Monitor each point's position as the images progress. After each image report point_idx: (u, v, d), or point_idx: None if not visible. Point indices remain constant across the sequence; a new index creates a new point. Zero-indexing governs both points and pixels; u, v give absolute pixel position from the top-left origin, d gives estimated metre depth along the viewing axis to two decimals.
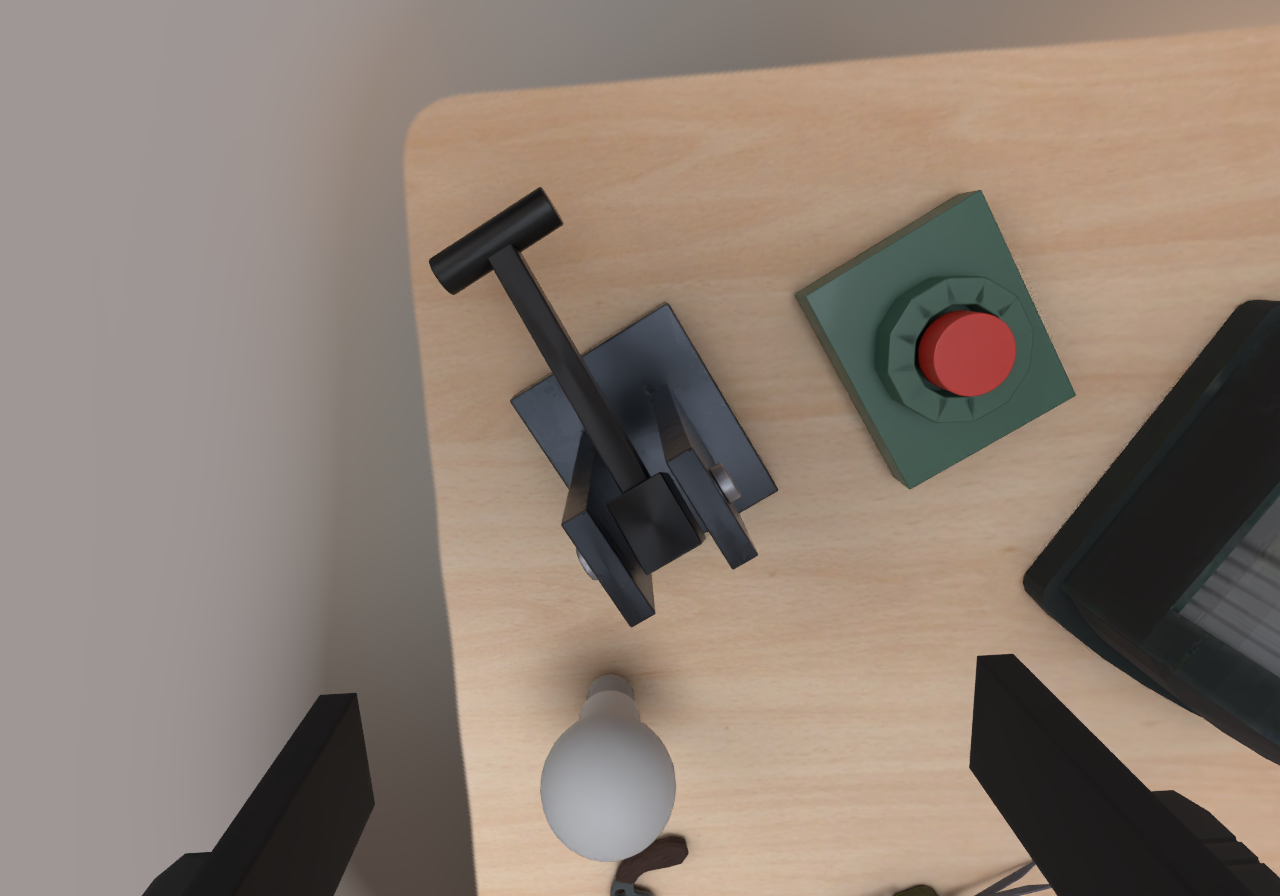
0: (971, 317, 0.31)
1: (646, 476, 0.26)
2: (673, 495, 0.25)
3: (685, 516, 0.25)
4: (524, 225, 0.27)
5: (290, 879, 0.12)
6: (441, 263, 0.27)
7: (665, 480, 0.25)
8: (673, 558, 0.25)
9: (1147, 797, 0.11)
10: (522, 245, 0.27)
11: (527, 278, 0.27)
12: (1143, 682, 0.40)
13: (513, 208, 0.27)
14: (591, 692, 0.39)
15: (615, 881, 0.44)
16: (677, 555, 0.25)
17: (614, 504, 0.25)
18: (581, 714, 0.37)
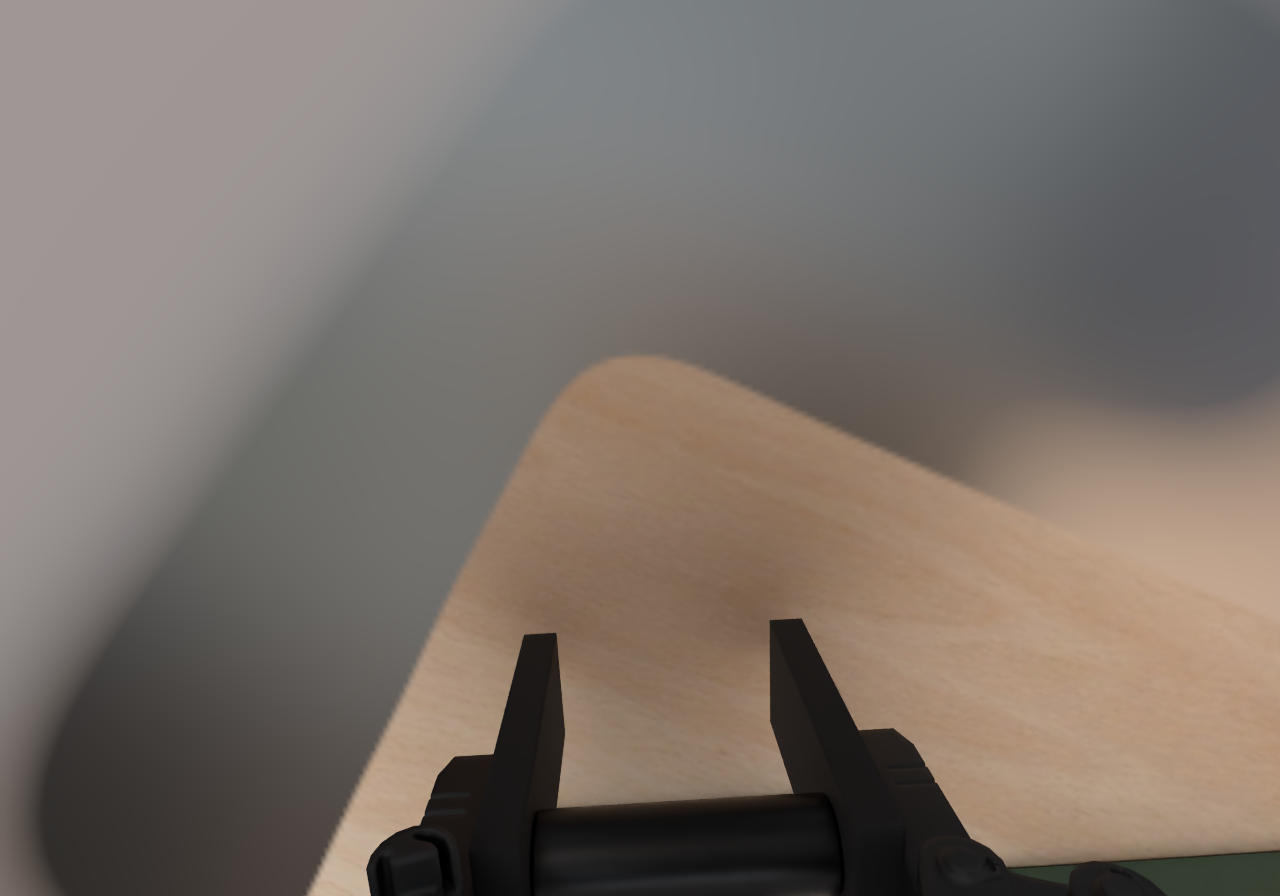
0: None
1: None
2: None
3: None
4: (767, 891, 0.12)
5: (545, 778, 0.14)
6: (556, 877, 0.12)
7: None
8: None
9: (850, 730, 0.13)
10: None
11: None
12: None
13: (763, 840, 0.12)
14: None
15: None
16: None
17: None
18: None
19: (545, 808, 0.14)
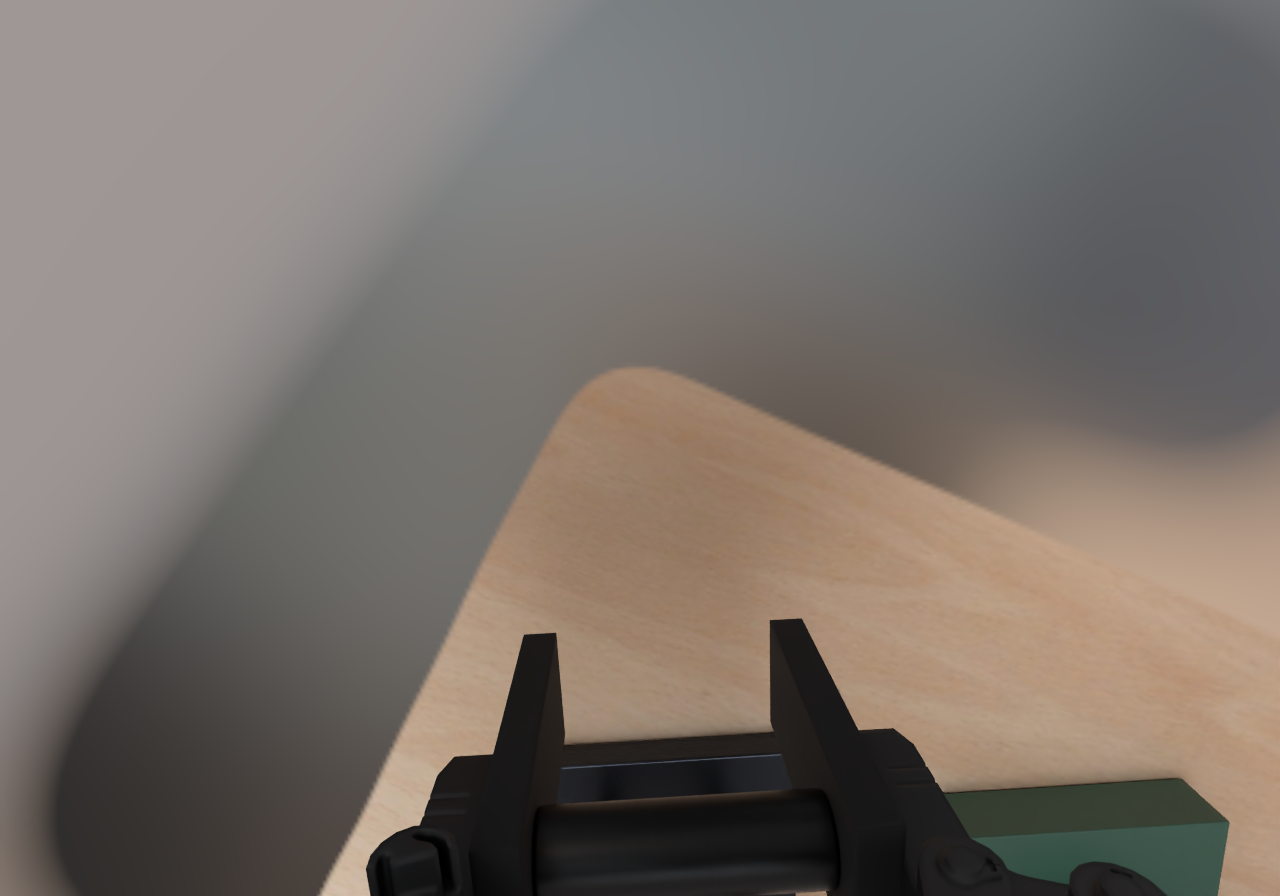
0: None
1: None
2: None
3: None
4: (765, 892, 0.12)
5: (544, 778, 0.14)
6: (558, 889, 0.12)
7: None
8: None
9: (851, 730, 0.13)
10: None
11: None
12: None
13: (763, 854, 0.12)
14: None
15: None
16: None
17: None
18: None
19: None
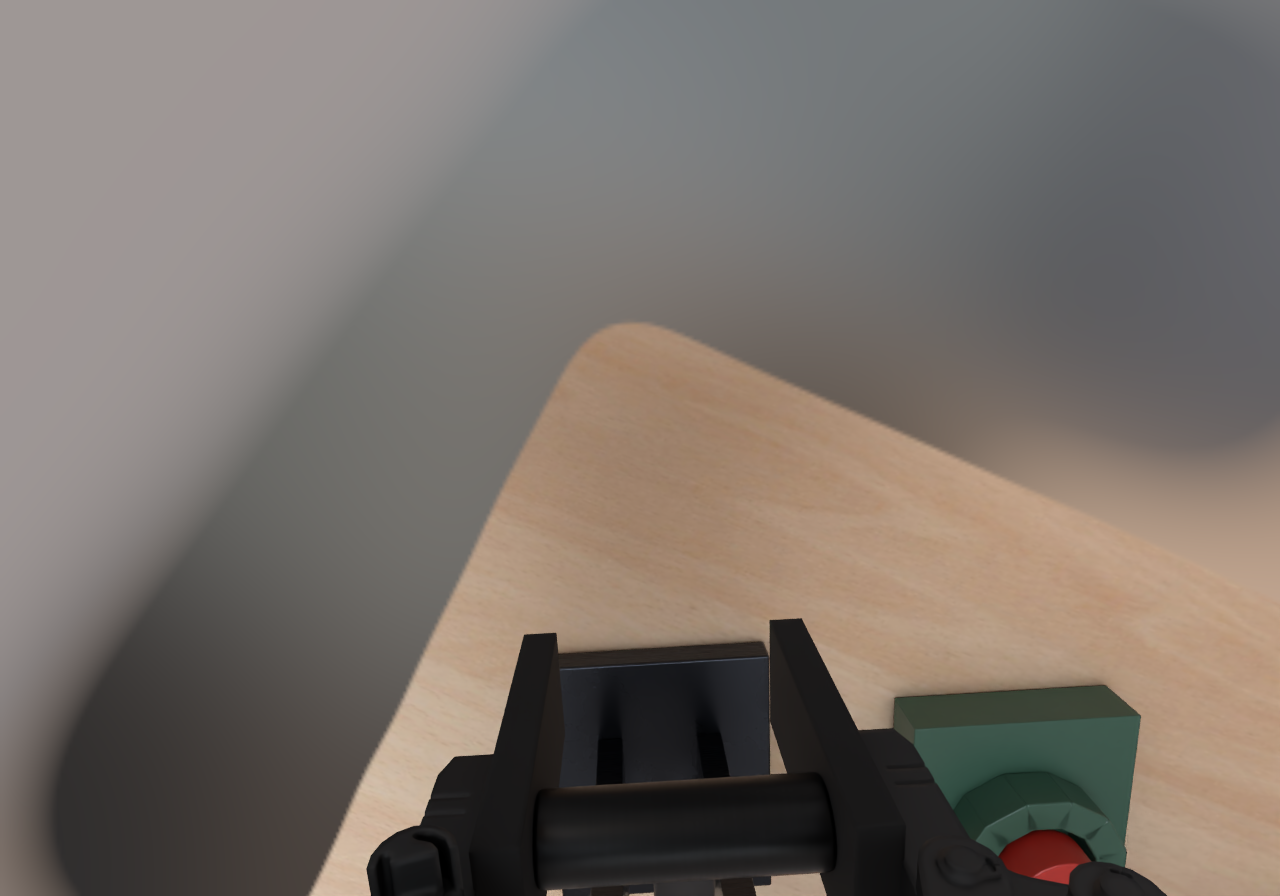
0: None
1: None
2: None
3: None
4: (760, 876, 0.12)
5: (545, 778, 0.14)
6: (560, 882, 0.12)
7: None
8: None
9: (850, 729, 0.13)
10: None
11: None
12: None
13: (762, 854, 0.12)
14: None
15: None
16: None
17: None
18: None
19: None
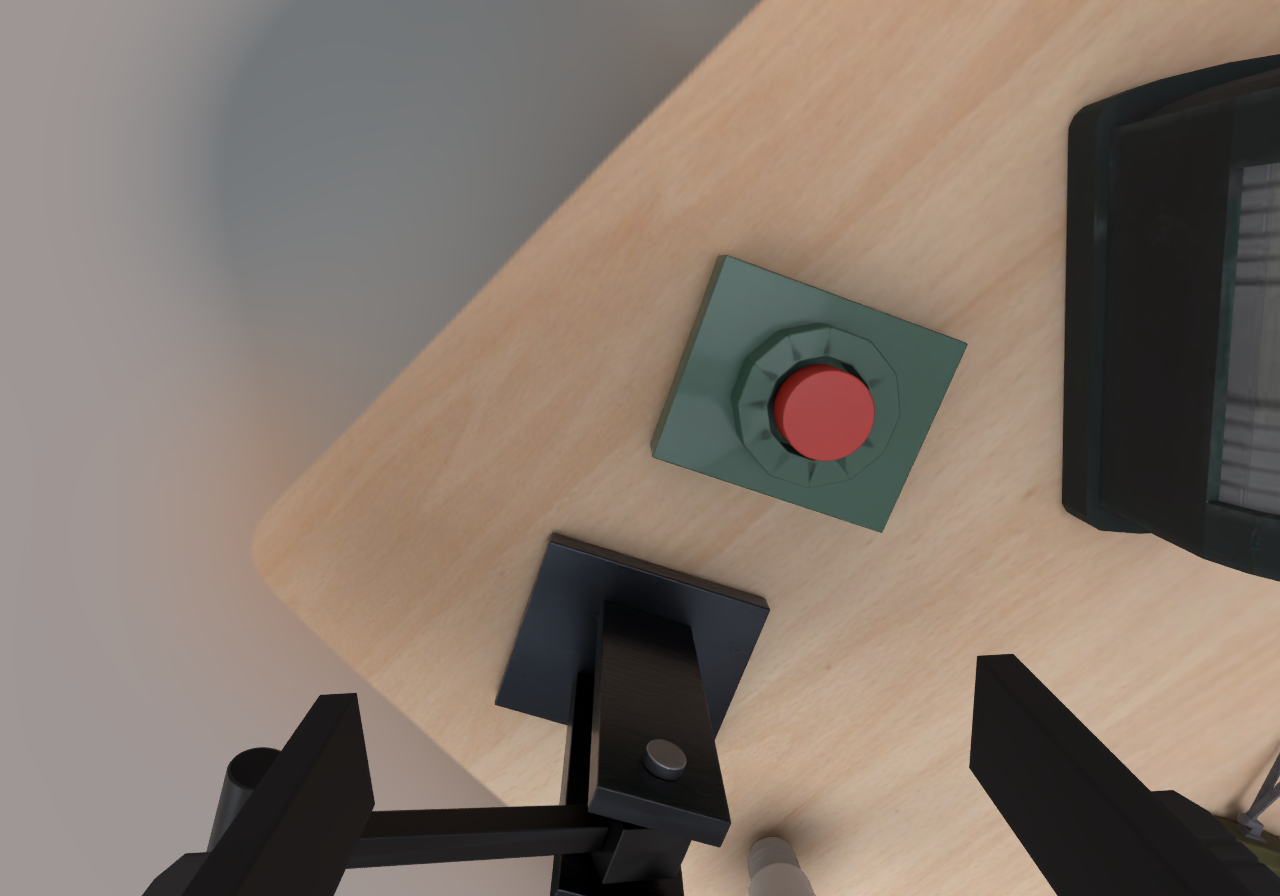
0: (797, 389, 0.28)
1: (605, 826, 0.24)
2: (648, 828, 0.23)
3: None
4: None
5: (290, 879, 0.12)
6: None
7: (632, 827, 0.23)
8: (685, 852, 0.24)
9: (1147, 797, 0.11)
10: None
11: None
12: None
13: None
14: (750, 874, 0.38)
15: None
16: (686, 847, 0.24)
17: (609, 877, 0.23)
18: None
19: None
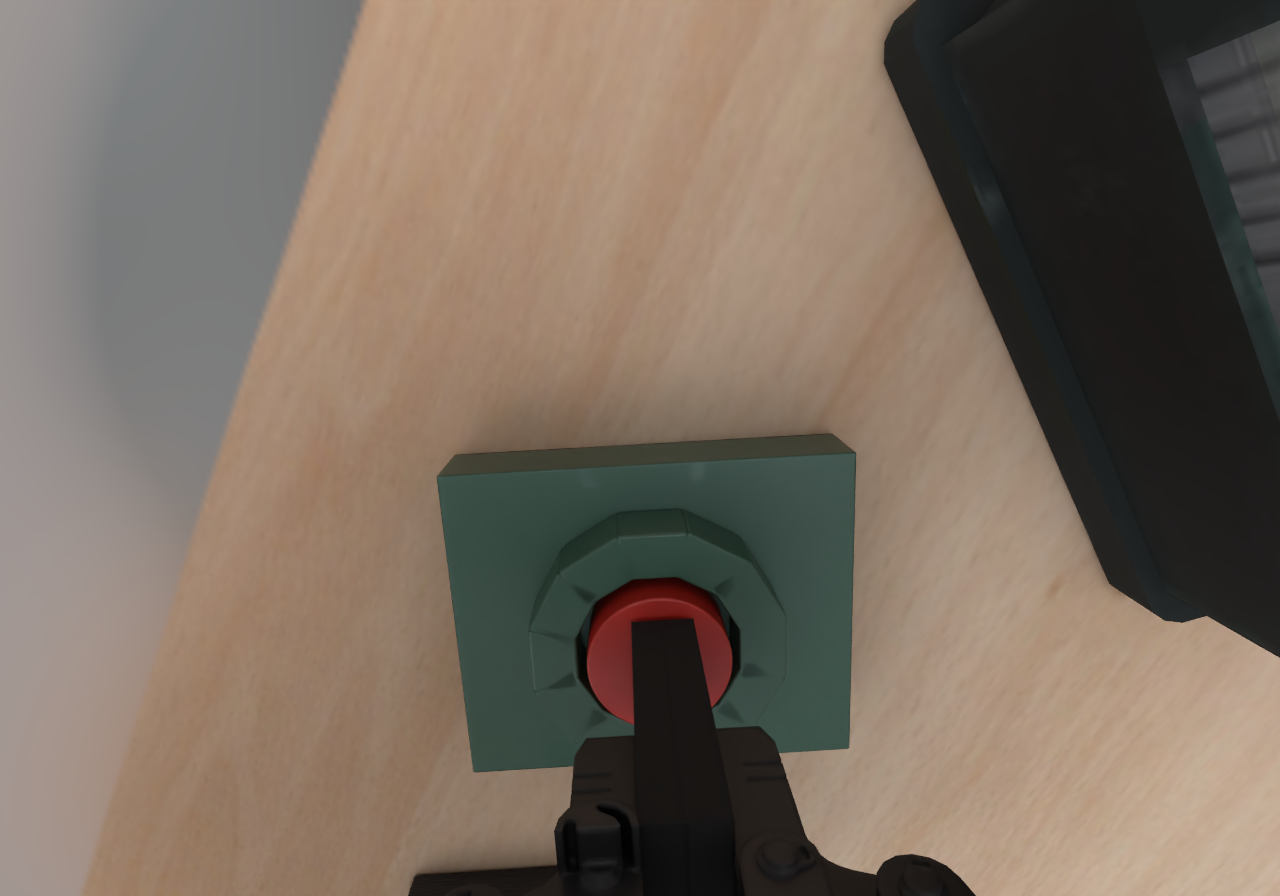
0: (596, 647, 0.18)
1: None
2: None
3: None
4: None
5: None
6: None
7: None
8: None
9: (708, 727, 0.13)
10: None
11: None
12: None
13: None
14: None
15: None
16: None
17: None
18: None
19: None
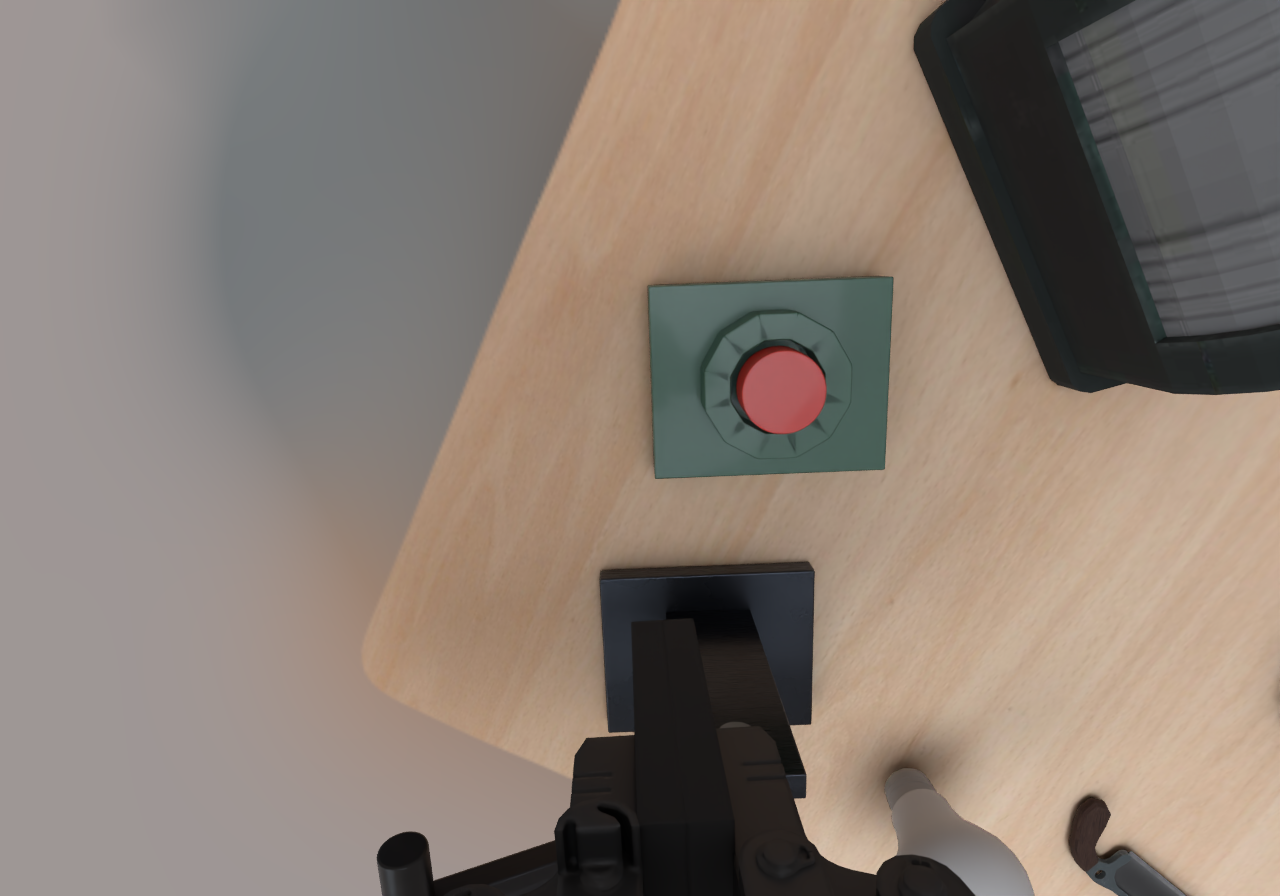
0: (747, 381, 0.31)
1: None
2: None
3: None
4: (421, 893, 0.23)
5: None
6: None
7: None
8: None
9: (708, 727, 0.13)
10: (433, 889, 0.24)
11: None
12: None
13: None
14: (891, 808, 0.40)
15: (1085, 871, 0.43)
16: None
17: None
18: None
19: None
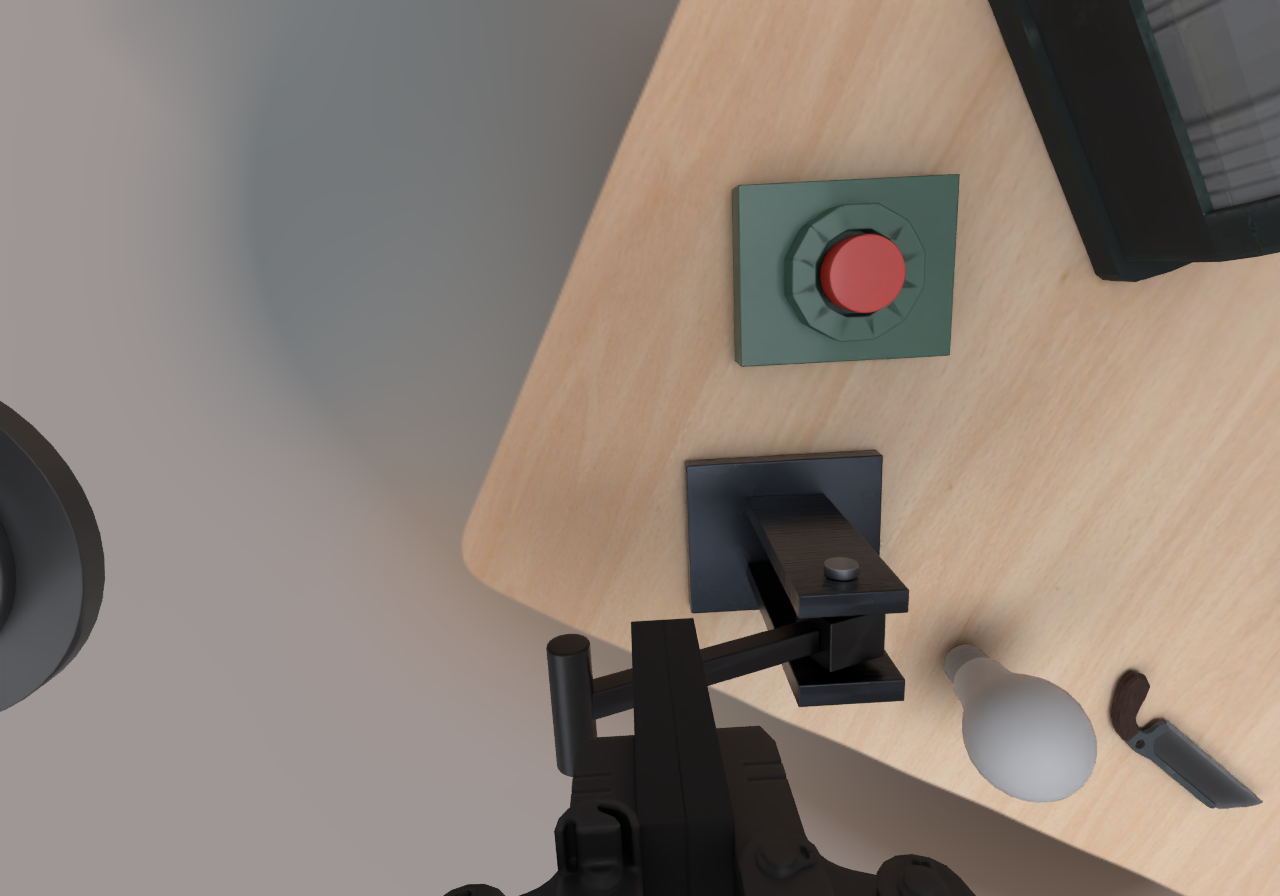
0: (835, 263, 0.34)
1: (816, 630, 0.30)
2: (849, 619, 0.30)
3: (865, 615, 0.30)
4: (586, 680, 0.26)
5: None
6: None
7: (836, 621, 0.30)
8: (883, 632, 0.31)
9: (709, 727, 0.13)
10: (592, 682, 0.27)
11: (629, 687, 0.27)
12: None
13: (566, 686, 0.26)
14: (951, 679, 0.44)
15: (1126, 741, 0.47)
16: (883, 629, 0.31)
17: (833, 665, 0.30)
18: None
19: None
